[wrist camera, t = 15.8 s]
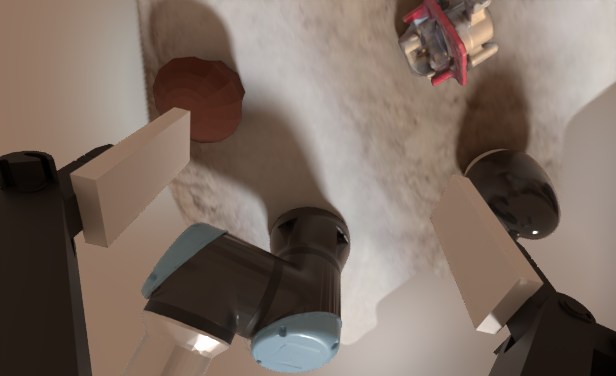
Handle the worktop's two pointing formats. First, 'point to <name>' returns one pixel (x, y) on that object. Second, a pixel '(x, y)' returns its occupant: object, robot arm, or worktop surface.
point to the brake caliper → (447, 38)
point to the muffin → (201, 96)
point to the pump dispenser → (516, 192)
